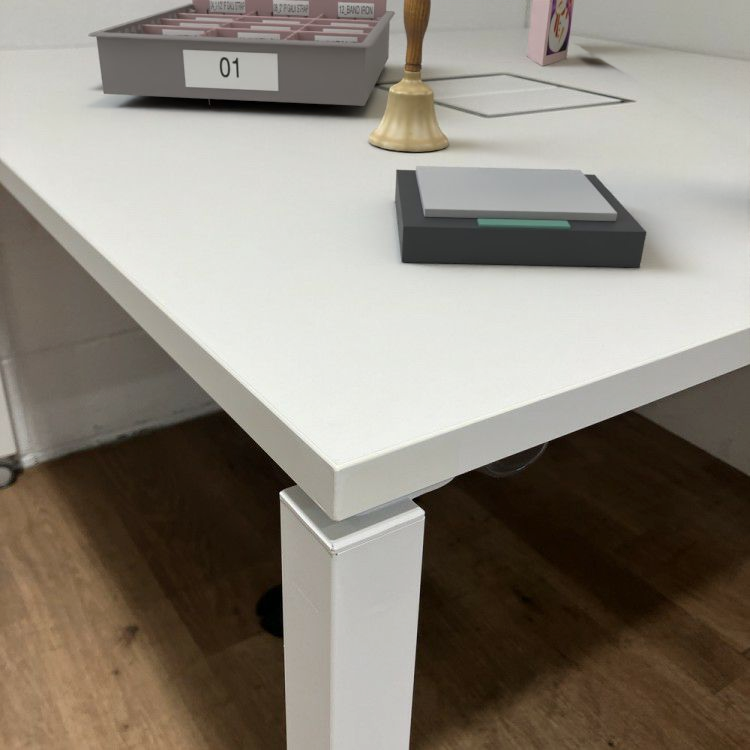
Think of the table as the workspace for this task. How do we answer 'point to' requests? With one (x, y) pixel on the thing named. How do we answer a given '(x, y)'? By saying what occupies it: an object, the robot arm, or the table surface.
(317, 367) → the table surface
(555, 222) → the scale
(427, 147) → the hand bell
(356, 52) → the organizer tray
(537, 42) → the pink cardboard box
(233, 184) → the table surface
